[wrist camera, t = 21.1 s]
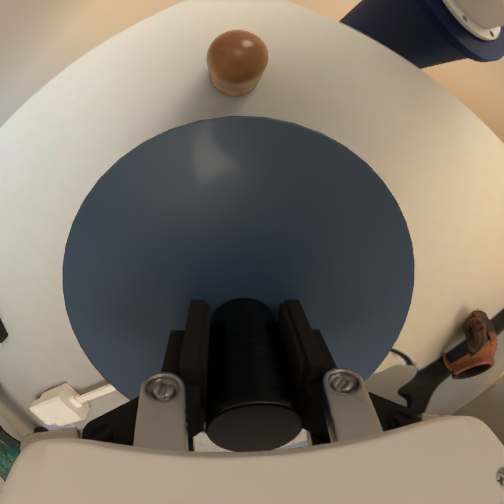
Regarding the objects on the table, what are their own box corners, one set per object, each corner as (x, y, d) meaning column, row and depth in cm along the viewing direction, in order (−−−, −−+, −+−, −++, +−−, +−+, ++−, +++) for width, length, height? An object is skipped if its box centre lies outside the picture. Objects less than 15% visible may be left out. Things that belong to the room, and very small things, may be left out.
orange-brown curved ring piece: (488, 325, 35) (497, 370, 29) (439, 341, 40) (445, 386, 34) (494, 290, 28) (509, 345, 23) (434, 310, 33) (444, 367, 28)
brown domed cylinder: (225, 45, 19) (225, 12, 13) (268, 65, 20) (283, 38, 14) (201, 84, 21) (192, 61, 14) (245, 104, 21) (252, 88, 15)
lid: (151, 56, 9) (79, -20, 3) (450, 234, 13) (541, 289, 7) (57, 356, 14) (12, 439, 7) (294, 435, 18) (312, 513, 11)
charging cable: (212, 354, 31) (212, 374, 28) (53, 416, 33) (47, 430, 30) (186, 323, 29) (183, 342, 26) (32, 396, 31) (24, 410, 28)
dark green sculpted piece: (64, 441, 37) (39, 522, 18) (47, 441, 37) (22, 515, 19) (-9, 367, 30) (-58, 448, 11) (-20, 372, 30) (-65, 445, 12)
